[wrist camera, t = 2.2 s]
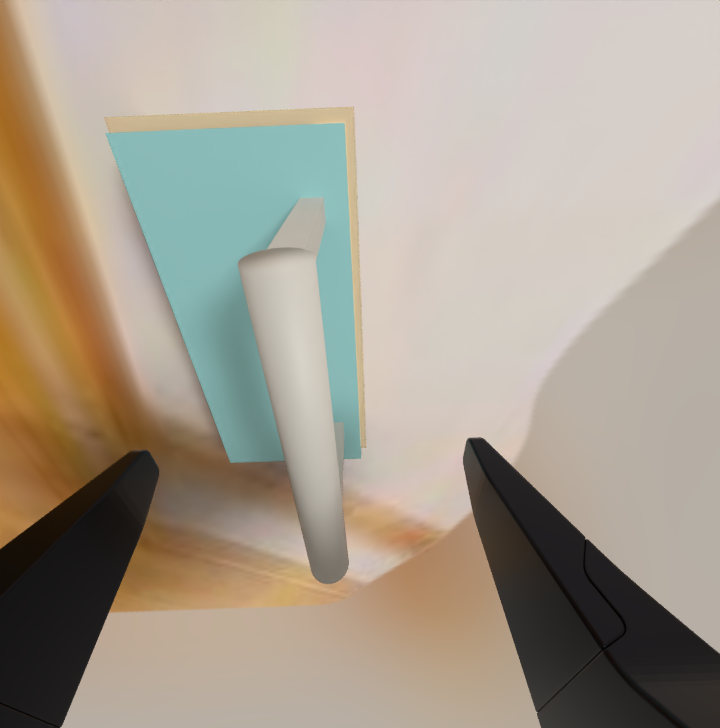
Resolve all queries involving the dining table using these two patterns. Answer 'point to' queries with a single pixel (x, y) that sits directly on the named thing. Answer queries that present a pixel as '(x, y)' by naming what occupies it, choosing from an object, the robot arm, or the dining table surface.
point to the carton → (276, 119)
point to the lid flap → (262, 297)
